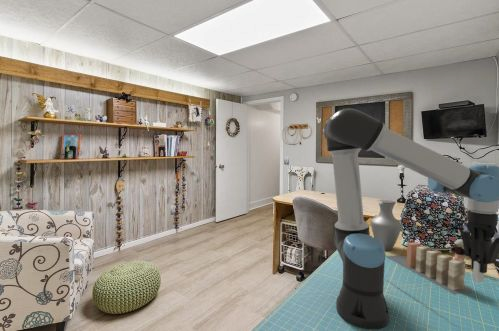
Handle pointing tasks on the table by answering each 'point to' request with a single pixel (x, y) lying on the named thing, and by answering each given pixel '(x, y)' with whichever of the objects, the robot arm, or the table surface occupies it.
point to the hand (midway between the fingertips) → (478, 280)
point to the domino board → (403, 261)
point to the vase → (386, 225)
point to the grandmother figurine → (459, 250)
